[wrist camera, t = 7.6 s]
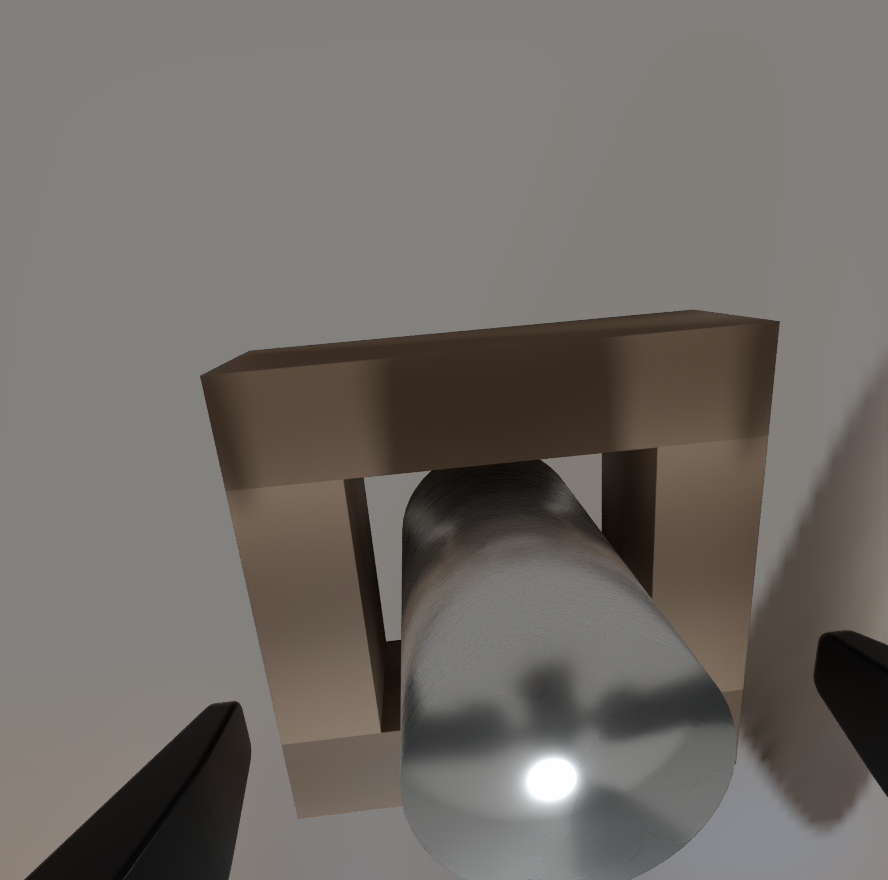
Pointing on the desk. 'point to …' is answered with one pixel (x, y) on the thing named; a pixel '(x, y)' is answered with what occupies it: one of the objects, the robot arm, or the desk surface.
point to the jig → (472, 444)
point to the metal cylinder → (544, 690)
